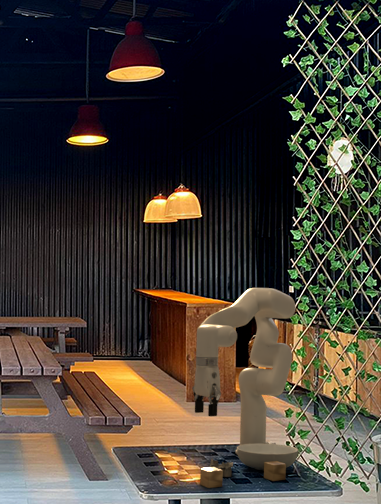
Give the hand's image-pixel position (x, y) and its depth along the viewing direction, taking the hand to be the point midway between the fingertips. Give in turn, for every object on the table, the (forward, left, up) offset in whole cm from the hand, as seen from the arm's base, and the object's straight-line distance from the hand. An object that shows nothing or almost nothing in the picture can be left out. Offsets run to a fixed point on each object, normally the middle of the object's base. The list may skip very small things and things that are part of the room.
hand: (205, 414), depth 287 cm
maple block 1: (+12, +24, -18) cm, 32 cm away
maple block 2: (-12, +24, -18) cm, 32 cm away
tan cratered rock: (0, +11, -18) cm, 21 cm away
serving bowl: (-19, +10, -18) cm, 28 cm away
